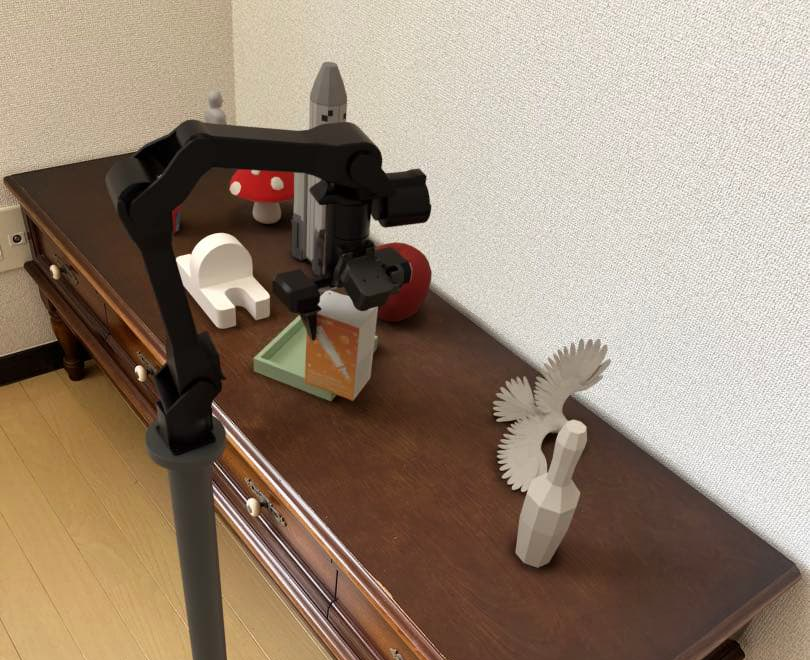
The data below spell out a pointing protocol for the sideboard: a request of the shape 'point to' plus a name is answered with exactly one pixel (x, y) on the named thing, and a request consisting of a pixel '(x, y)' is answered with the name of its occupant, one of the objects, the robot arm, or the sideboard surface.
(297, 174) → the toy rocket
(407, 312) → the apple
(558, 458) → the low poly bottle
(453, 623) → the sideboard surface
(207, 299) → the white slotted holder
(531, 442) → the bird
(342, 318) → the small box
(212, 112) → the figurine
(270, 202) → the decorative mushroom
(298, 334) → the tray
